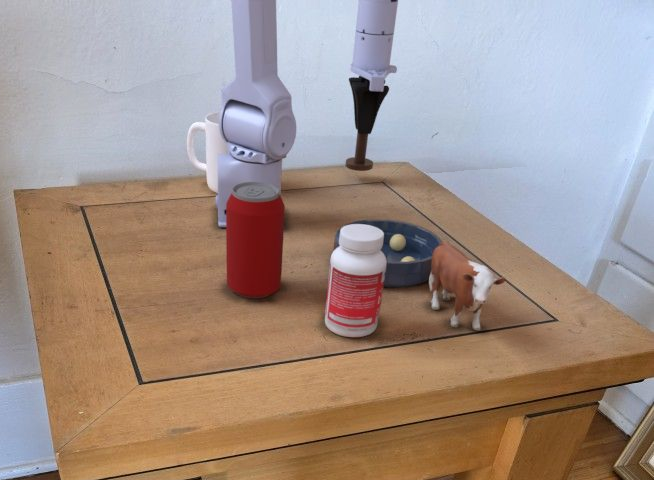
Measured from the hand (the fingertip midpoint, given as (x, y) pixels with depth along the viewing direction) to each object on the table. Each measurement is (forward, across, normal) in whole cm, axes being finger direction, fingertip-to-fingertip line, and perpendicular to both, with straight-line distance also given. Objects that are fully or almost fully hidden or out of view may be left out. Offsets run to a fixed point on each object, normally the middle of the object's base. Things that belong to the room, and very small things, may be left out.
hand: (363, 131), depth 113 cm
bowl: (+8, -34, +1) cm, 34 cm away
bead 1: (+6, -30, -1) cm, 31 cm away
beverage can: (+8, -41, +19) cm, 46 cm away
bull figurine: (+8, -48, -5) cm, 49 cm away
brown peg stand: (+5, 0, 0) cm, 5 cm away
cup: (+8, -4, +23) cm, 25 cm away
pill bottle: (+8, -50, +8) cm, 51 cm away
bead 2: (+6, -37, -1) cm, 38 cm away
